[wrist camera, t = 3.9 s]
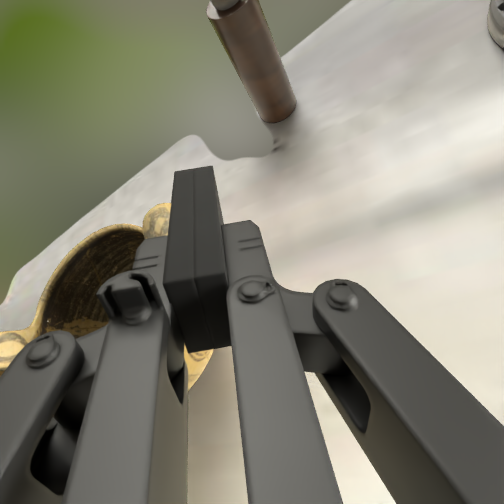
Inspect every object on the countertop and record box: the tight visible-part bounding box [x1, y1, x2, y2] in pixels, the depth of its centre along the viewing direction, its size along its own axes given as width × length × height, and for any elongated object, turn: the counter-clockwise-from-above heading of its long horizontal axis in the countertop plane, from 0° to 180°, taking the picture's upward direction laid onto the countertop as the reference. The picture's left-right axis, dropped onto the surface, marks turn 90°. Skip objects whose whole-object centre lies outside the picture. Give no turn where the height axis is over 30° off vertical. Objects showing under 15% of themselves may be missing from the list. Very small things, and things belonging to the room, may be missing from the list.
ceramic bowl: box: [0, 203, 214, 390], centre depth 31 cm, size 22×17×15 cm
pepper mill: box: [206, 0, 296, 123], centre depth 37 cm, size 5×5×16 cm
